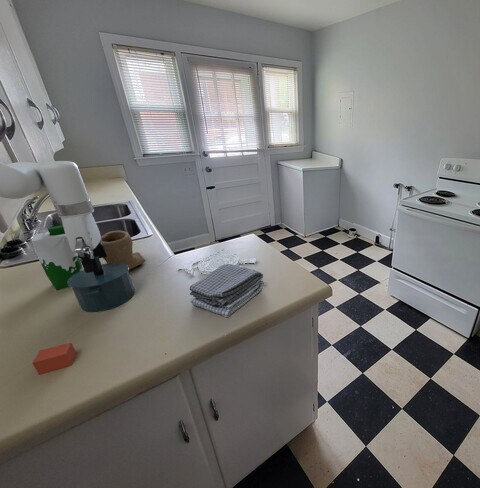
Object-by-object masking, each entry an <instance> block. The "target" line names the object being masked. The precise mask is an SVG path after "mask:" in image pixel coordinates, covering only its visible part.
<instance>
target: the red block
mask: <svg viewBox="0 0 480 488" xmlns="http://www.w3.org/2000/svg"><path fill="white" fill-rule="evenodd" d="M76 356H77V351H76V349H75V347H74V346H73V343H72V342H71V341H70V342H66V343H63V344H59V345H55V346H51V347H47V348H43V349H40V350H39V352H38V353H37V354H36V356H35V357H34V359H33V360H32V362H31V363H32V366H33V367H34V369H35V370H36V373H37V374H38V375H42V374H46V373H50V372H54V371H57V370H61V369H64V368H68V367H71V366H73V362H74V360H75V358H76Z"/></svg>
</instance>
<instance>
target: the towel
mask: <svg viewBox="0 0 480 488" xmlns="http://www.w3.org/2000/svg"><path fill="white" fill-rule="evenodd" d="M240 266H241V265H239V266H236V265H232V264H225V265H222V266H220V267H219V268H217V269H216V270H214V271H213V272H211V273H210V274H209V275H206V276H205V277H202V279H200V280H198V281H196V282H194V283H192V284H191V285H190V286H189V291H190V293H189V295H190V296H192V297H193V298H191V299H190V300H189V302H190V304H192V305H193V306H195V307H197V308H201V309H204V310H206V311H208V312H212V313H214V314H216V315H220V316H223V317H225V318H229V317H231V315H233V314H234V313H235V312H237V310H239V309H240V308H241V307H243V306H244V305H246V304H247V303H248V302H249V301H250V300H252V299H253V298H254V297H255V296H256V295H258V294H259V293H260V292H261V291H262V289H263V288H264V286H265V282H264V281H263V279H264V274H263V273H262V272H261V271H259V270H255V269H251V268H248V267H245V266H242V267H240Z"/></svg>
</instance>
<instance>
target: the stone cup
mask: <svg viewBox="0 0 480 488" xmlns="http://www.w3.org/2000/svg"><path fill="white" fill-rule="evenodd" d="M101 241H102V243H103V244H102V245H103V246H104V248H105V251H106V254H107V257H105V258H102V259H103V260H104V261H105V264H107V263H124V264H127V265H128V266H129V271H130V270H131V269H134V268H136V267H138V266H139V265H142V264H143V263H146V261H147V259H146V258H145V257H144V256H143V255H142V254H141V253H140V252H138V251H136V252H133V251H134V250H133V246H134V245H133V243H134V242H133V239H132V237H131V236H130V233H129V232H127V231H124V230H112V231H108V232H106V233H104V234H103V235H101Z"/></svg>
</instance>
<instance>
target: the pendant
mask: <svg viewBox="0 0 480 488" xmlns="http://www.w3.org/2000/svg"><path fill="white" fill-rule="evenodd" d="M220 251H221V250H220ZM231 251H232V250H223V251H221V252H227V253H228V252H231ZM217 252H218V251H214V252H213V253H217ZM219 256H220V257H219ZM221 256H222V257H221ZM213 257H217V258H214V259H213ZM207 258H208V259H207ZM191 261H192V260H191ZM191 261H190V262H191ZM203 261H204V262H206V264H205V263H202V262H203ZM207 261H208V262H207ZM190 262H189V263H190ZM192 262H193V261H192ZM192 262H191V263H192ZM191 263H190V264H191ZM242 263H243V264H242ZM245 263H254V264H253V265H256V264H257V258H255V257H252V258H245V259H241V260H240V257H239V256H237V254H236V253H235V254H213V255H210V256H209V257H208V256H206V257H205V258H203V260H201V261H200V262H197V263H193V265H192V266H195V265H196V264H197V266H198V268H197V270H198V269H199V270H198V272H201V273H208V274H206V276H208V275H209V274H210V273H211V272H213V271H214V270H216V269H217V268H219V267H220V266H222V265H225V264H232V265H236V266H240V267H243V266H242V265H246V264H245ZM200 264H201V267H202V266H203V267H202V268H201V267H200ZM183 267H184V268H185V267H186V266H183ZM187 267H188V266H187ZM189 267H190V265H189ZM189 267H188V268H187V269H182V270H181V271H185V273H186V274H188V273H191V274H189V275H190V276H194V272H195V269H196V268H192V269H194V271H193V270H192V269H191V268H189ZM187 272H188V273H187ZM201 273H199V274H200V275H204V274H201Z"/></svg>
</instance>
